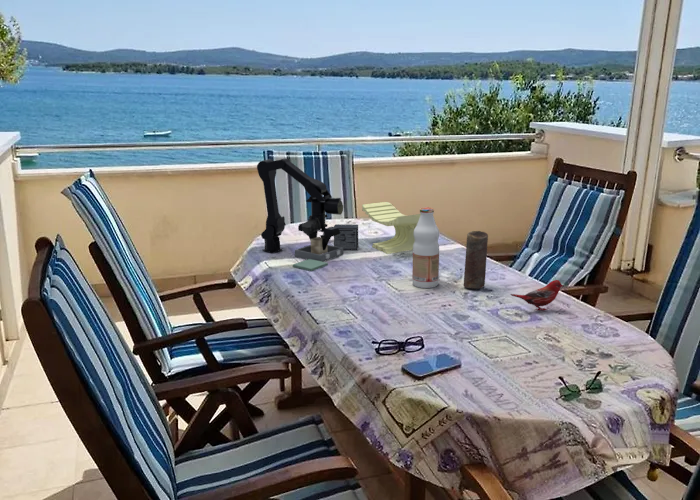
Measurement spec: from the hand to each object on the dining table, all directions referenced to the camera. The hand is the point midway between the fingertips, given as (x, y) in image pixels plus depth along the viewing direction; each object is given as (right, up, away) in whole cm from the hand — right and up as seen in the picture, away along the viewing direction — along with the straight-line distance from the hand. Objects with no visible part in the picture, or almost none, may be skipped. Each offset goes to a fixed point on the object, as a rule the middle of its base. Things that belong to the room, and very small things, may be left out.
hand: (319, 248), depth 257 cm
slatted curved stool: (+33, 0, +11) cm, 35 cm away
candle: (+57, -14, -41) cm, 72 cm away
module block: (0, -1, 0) cm, 2 cm away
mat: (-3, -7, -14) cm, 16 cm away
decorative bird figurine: (+72, -20, -64) cm, 98 cm away
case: (0, -3, +1) cm, 3 cm away
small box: (+11, 0, +12) cm, 16 cm away
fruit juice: (+40, -13, -37) cm, 56 cm away
